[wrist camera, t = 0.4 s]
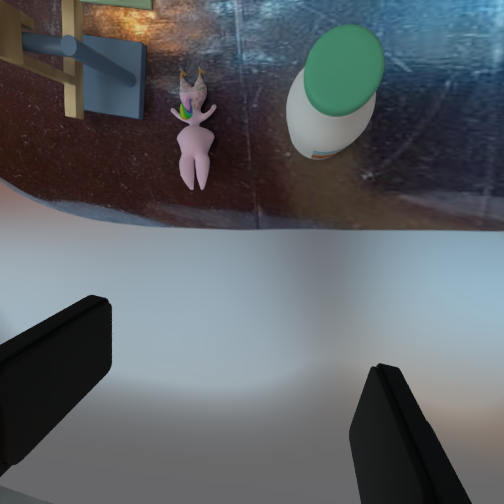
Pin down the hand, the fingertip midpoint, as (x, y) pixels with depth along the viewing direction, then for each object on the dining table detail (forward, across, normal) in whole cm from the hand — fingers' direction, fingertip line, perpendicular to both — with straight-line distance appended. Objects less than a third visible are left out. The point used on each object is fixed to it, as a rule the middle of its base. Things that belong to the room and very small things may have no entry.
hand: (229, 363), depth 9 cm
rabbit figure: (+31, +14, -10) cm, 35 cm away
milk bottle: (+31, -2, -13) cm, 34 cm away
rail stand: (+31, +28, -15) cm, 44 cm away
